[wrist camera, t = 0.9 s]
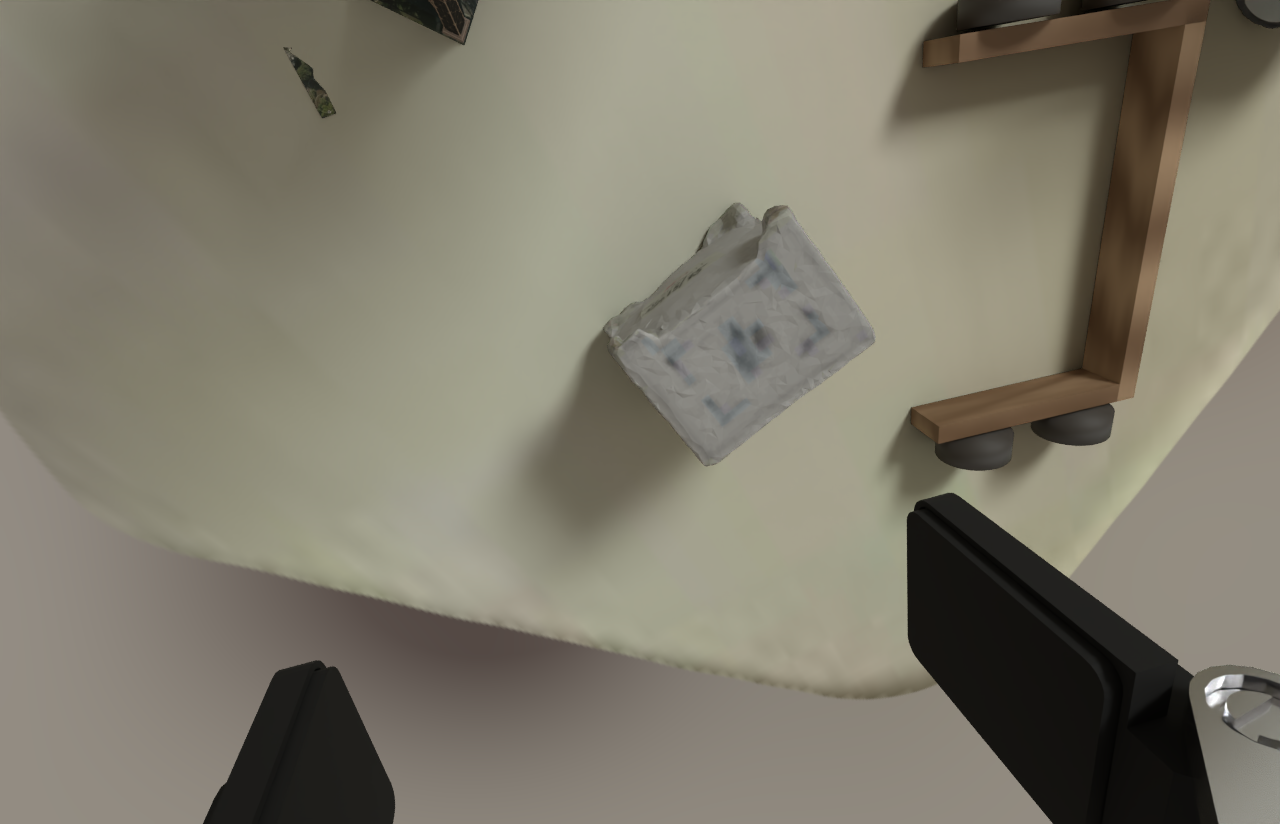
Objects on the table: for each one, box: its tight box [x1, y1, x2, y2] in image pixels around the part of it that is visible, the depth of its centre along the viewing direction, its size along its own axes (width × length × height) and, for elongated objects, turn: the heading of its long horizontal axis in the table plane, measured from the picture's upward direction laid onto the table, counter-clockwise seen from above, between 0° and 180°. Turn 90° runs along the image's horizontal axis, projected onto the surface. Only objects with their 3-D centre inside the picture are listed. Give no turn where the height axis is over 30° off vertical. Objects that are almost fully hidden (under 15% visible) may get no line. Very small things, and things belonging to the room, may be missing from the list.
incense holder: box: [603, 203, 875, 466], centre depth 32 cm, size 10×8×10 cm
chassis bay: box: [911, 0, 1210, 471], centre depth 37 cm, size 26×14×4 cm, turn 9°
